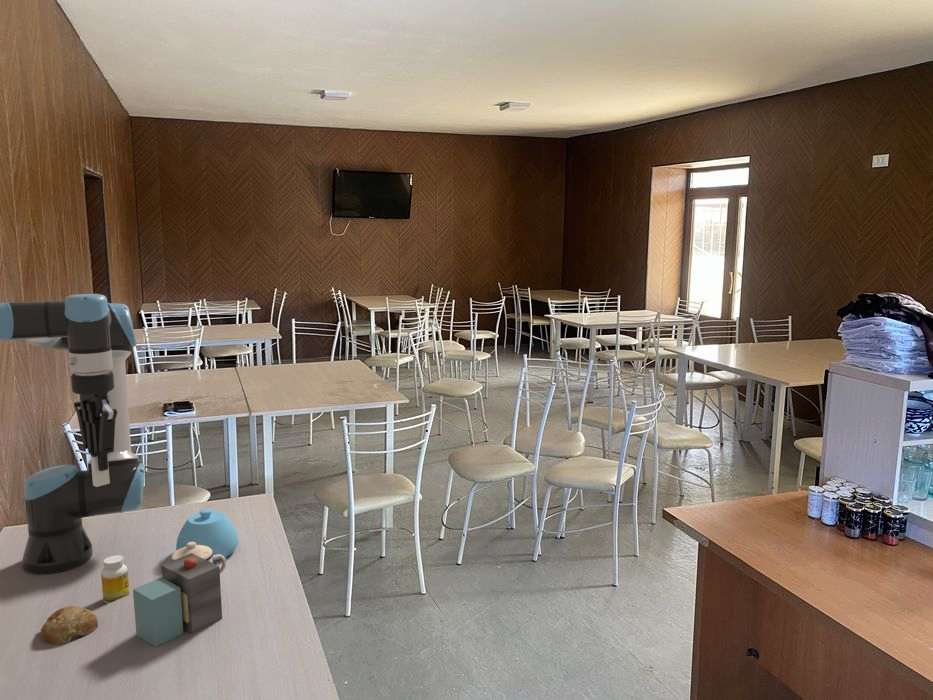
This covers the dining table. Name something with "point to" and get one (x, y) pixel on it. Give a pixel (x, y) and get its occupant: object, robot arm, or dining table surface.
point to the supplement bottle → (114, 579)
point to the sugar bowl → (209, 532)
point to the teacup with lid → (199, 553)
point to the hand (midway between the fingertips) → (101, 484)
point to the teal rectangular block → (158, 611)
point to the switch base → (196, 590)
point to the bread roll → (68, 625)
